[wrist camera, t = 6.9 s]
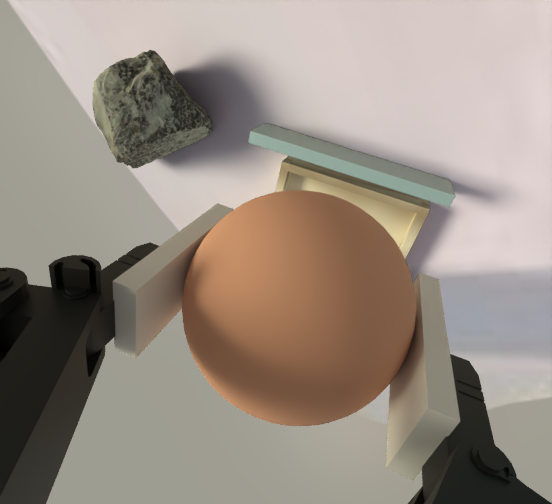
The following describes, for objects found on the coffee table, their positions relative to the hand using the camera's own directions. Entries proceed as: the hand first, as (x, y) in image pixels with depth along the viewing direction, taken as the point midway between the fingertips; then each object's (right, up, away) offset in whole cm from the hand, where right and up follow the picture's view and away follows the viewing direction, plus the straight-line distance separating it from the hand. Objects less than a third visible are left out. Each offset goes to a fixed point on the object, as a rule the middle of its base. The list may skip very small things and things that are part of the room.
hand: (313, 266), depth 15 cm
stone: (-12, +15, +20) cm, 28 cm away
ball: (0, +1, +1) cm, 1 cm away
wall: (+5, +9, +17) cm, 20 cm away
